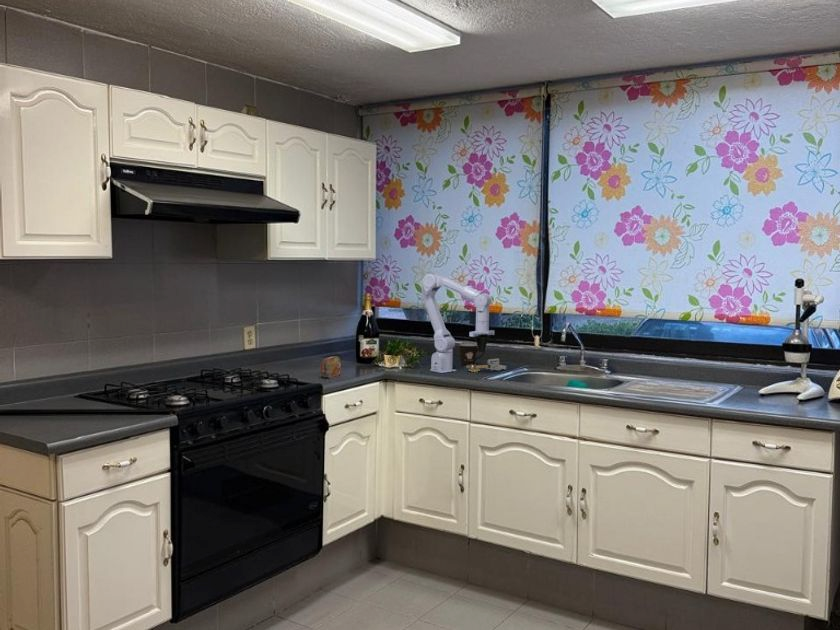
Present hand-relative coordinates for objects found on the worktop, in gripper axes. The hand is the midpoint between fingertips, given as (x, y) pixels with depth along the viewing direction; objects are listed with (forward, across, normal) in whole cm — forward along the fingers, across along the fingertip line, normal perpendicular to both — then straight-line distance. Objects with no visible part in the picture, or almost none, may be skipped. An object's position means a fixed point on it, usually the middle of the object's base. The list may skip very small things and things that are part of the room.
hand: (481, 352), depth 331 cm
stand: (+10, +17, +5) cm, 20 cm away
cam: (+10, +6, +6) cm, 13 cm away
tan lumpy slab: (+10, -54, +36) cm, 66 cm away
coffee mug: (+10, +15, +19) cm, 27 cm away
